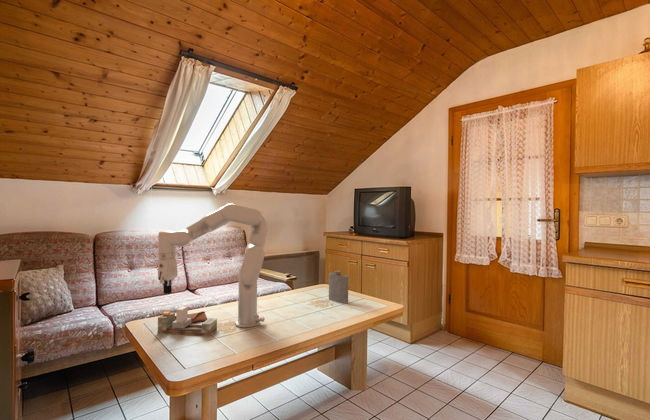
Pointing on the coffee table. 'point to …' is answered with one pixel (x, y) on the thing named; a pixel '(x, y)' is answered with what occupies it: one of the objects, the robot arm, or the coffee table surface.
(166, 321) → the rail bed
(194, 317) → the sunglasses case
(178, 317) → the carriage
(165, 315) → the orange block
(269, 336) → the coffee table surface
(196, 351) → the coffee table surface
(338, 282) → the hip flask
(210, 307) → the coffee table surface
